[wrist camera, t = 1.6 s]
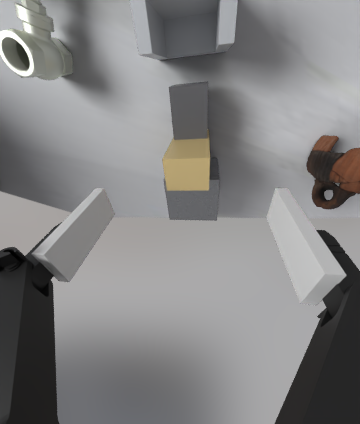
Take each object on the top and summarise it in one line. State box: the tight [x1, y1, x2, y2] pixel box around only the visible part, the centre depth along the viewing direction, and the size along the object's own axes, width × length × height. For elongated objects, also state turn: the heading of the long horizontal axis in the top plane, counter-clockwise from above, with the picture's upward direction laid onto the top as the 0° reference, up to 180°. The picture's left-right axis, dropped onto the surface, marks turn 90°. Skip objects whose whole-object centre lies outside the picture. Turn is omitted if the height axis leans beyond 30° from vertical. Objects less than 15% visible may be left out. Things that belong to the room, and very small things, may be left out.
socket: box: [129, 0, 238, 60], centre depth 16 cm, size 8×4×8 cm, turn 95°
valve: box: [0, 0, 73, 80], centre depth 17 cm, size 7×7×12 cm
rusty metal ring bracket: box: [307, 136, 360, 209], centre depth 24 cm, size 12×9×8 cm
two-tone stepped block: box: [162, 82, 210, 191], centre depth 22 cm, size 4×17×10 cm, turn 5°
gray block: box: [164, 158, 220, 220], centre depth 27 cm, size 7×7×7 cm
